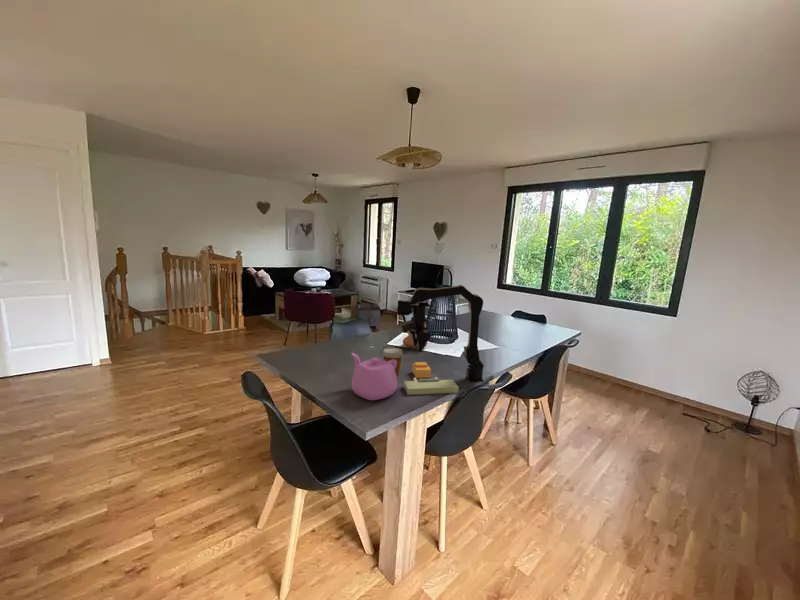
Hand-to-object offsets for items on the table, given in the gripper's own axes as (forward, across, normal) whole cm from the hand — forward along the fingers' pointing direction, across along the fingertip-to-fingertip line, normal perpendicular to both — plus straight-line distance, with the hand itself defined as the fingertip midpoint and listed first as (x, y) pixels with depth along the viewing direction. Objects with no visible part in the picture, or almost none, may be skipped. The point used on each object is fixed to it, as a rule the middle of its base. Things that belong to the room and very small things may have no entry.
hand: (417, 348), depth 167 cm
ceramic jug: (+14, -45, +11) cm, 48 cm away
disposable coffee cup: (+14, -3, -11) cm, 18 cm away
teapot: (+14, +16, -23) cm, 31 cm away
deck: (+14, +12, +2) cm, 18 cm away
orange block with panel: (+14, -2, +3) cm, 14 cm away
